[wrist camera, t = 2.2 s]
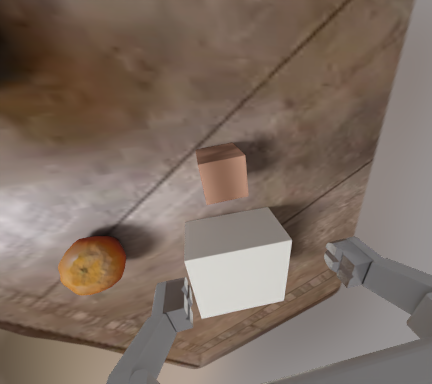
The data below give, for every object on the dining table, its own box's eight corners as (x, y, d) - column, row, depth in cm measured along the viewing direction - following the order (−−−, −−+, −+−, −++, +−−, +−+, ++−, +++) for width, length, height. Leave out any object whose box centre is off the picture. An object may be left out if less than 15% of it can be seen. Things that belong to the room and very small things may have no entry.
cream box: (267, 206, 29) (292, 239, 22) (265, 261, 36) (283, 300, 29) (185, 221, 28) (184, 261, 21) (199, 275, 35) (201, 318, 28)
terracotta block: (232, 142, 23) (245, 155, 18) (236, 176, 26) (248, 196, 20) (195, 149, 23) (197, 164, 18) (202, 183, 25) (206, 204, 20)
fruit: (87, 279, 29) (47, 309, 21) (85, 232, 30) (46, 244, 22) (137, 274, 30) (117, 300, 22) (135, 228, 31) (115, 238, 23)
